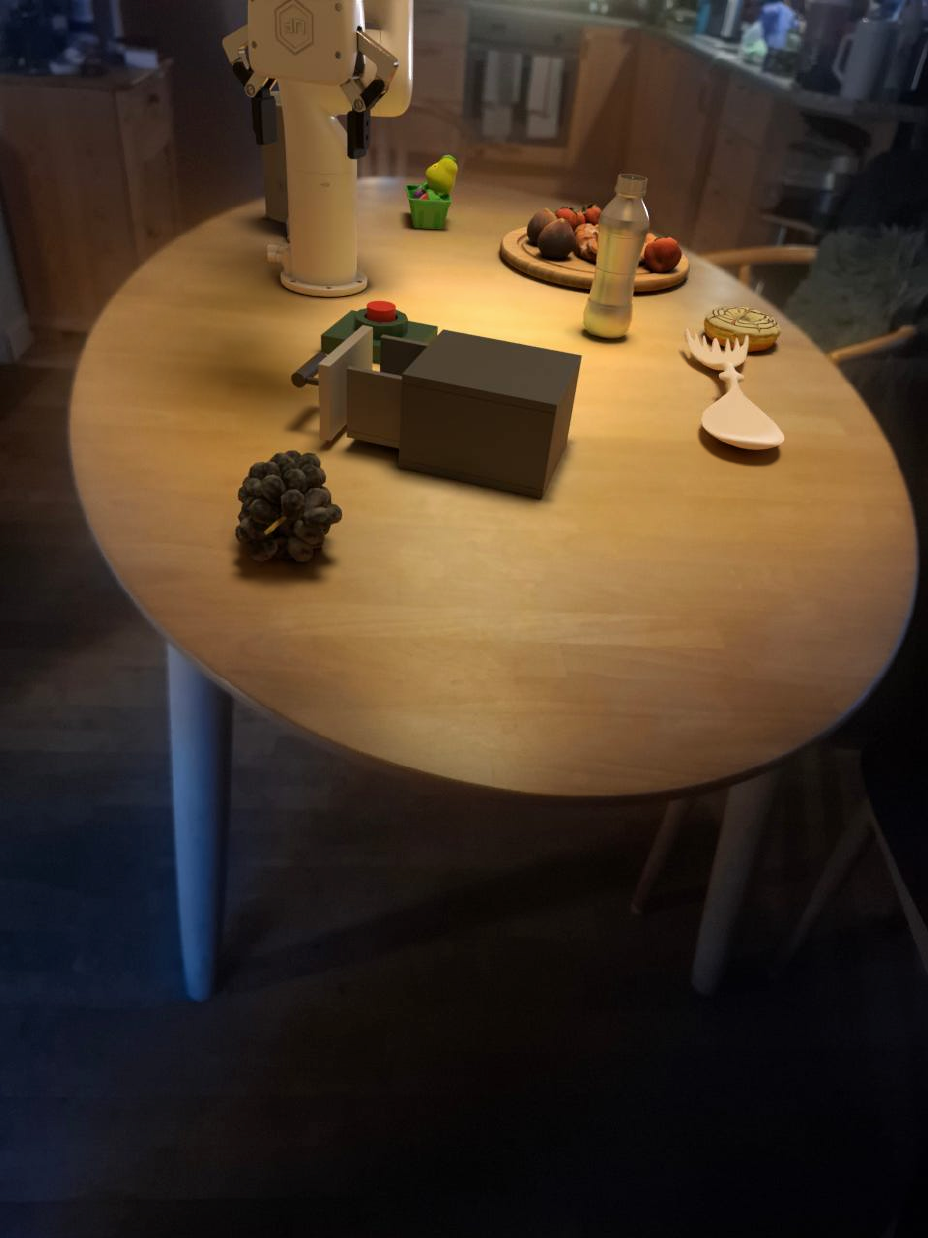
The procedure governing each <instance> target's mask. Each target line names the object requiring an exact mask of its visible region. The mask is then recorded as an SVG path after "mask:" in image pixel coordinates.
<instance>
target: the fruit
mask: <svg viewBox="0 0 928 1238" xmlns="http://www.w3.org/2000/svg"><path fill="white" fill-rule="evenodd" d="M321 463H322V462H321V460H320V457H319V456H318V455H317V454H316V453H313V452H305V453H303V454H301V453H300V452H298V451H297V450H295V449H293V450H292V449H290V450H287V451H286V452H277V453H275V454H274V455H273V456H272V457H271V458H270V459H269V460H268V461H266V462H264V461H259V462H255V463H254V464H253V465H251V466H250V467H249V470H248V473H247V476H246V477H245V478H244V479H243V480H242V484H241V485H242V486H240V487H239V488H238V491H237V499H238V501H239V502H241V504H242V505H241V509H240V511H239V513H238V515H237V518H238V522H239V524H238V525H236V527H235V534H234V536H235V538H236V540H237V542H238V543H240V544H242V545H244V546H247V545H248V549H247V550H248V554H249V556H250V557H251V558H252V559H253V560H254V561H258V562H264V561H266V560H269V559H271V558H272V557H273V556H274V557H276V558H278V559H281V560H283V561H286V560H288V559H290V558H293V560H295V561H296V562H301V563H303V562H308V561H309V560H311V558H312V557H314V556H313V555H314V549H319V548H321V547H322V546H324V542H325V539H326V535H328V534H329V532H330V530H331V527H332V525H335V524H338V523H340V522H341V521H342V518H343V510H342V508H341V507H340V506H339V505H338V504H336V503H333V502H332V493H331V492H330V490H329V488H328V487H327V486H324V484H325V483H326V482H327V474H326V472H325V470H324V469H323V468H322V467H321V465H322V464H321Z"/></svg>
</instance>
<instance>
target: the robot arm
mask: <svg viewBox="0 0 928 1238" xmlns="http://www.w3.org/2000/svg"><path fill="white" fill-rule="evenodd" d="M366 23H368V24H369V23H370V24H372V26H374V27H375V29H371V28H366ZM221 42H222V43H221V45H222V47H223V49H224V51H225V54H226V56H227V58H228V62H229V63H230V64H231V66H232V67H231V69H232V72H233V74H234V76H235V77H236V78H237V80H238V81H239V82H240V83H241V85H242V86H243V87H244V92H245V94H246V96H247V97H249V98H250V101H251V102H250V103H251V119H252V130H253V133H254V134H255V143H256V145H257V146H261V147H262V146H264V145H268V144H271V143H275V142H276V141H277V118H276V100H275V98H274V96H271V95H270V91H272V89H273V88H274V86H275V85H276V83H277V86H278V91H279V92H280V98H281V104H282V111H283V118H284V129H285V143H286V163H287V187H288V210H289V234H290V242H289V245H287V247H286V246H282V245H279V244H274V243H269V244H268V245H267V247H266V258H267V261H268V262H270V263H276V264H277V263H278V264H281V265H282V266H283V270H281V272H280V283H281V285H282V286H284V287H285V288H286V289H288V290H290V291H292V292H295V293H298V294H302V295H307V296H313V297H325V298H326V297H330V298H331V297H334V298H335V297H345V296H351V295H355V294H358V293H360V292H362V291H363V290H365V289H366V288H367V286H368V276H367V274H366V273H365V272H364V271H362V270H361V269H358V159H361V158H364V157H366V156H367V152H368V151H367V150H369V149H370V146H371V117H379V118H380V117H381V118H395V117H396V118H397V117H399V116H402V115H403V114H404V113H405V112H406V111H407V110H408V108H409V107H410V104H411V100H412V95H413V85H414V0H247V24H245V25H243V26H241V27H240V28H238V29H237V30H235V31H233V32H231V33H230V34H228V35H226V36H225V37H224V38H223V39H222V41H221ZM246 47H247V49H248V50H247V51H248V59H247V55H246V52H245V49H246ZM248 60H249V61H248ZM340 115H342V116H346V129H345V128H344V126H343V125H342V123H340V121H339V119H338V118H337V117H338V116H340Z"/></svg>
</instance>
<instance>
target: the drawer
mask: <svg viewBox="0 0 928 1238" xmlns="http://www.w3.org/2000/svg"><path fill="white" fill-rule="evenodd" d="M429 344H430V343H425V342H419V341H414V340H409V339H404V338H399V337H393V336H388V335H382V336H381V340H380V364H379V370H373V362H372V359H373V327H369V326H364V325H362V326H361V327H360V328H359V329H358V330H357V331H356V332H354V333H353V334H352V335H351V336H350V337H349V338H348V339H346V340H345V341H344V342H343V343H342V344H341V345H339V346H338V347H337V348H336V349H335V350H334V351H333V352H331V353H330V354H328V355H327V353H323V352H321V351H319V352H317V353H316V354H314V356H312V357H311V358H310V359H308V360H307V361H305V363H304V364H302V366H300V367H298V369H297V370H295V371H294V372H293V373H292V374H291V376H290V381H291V384H292V385H293V386H294V387H296V388H298V389H301V388H304V387H305V386H306V385H310V386H314V387H318V412H319V439H320V440H325V441H332V440H333V439H334V438H335V437H336V436H337V435H338V434H339V433H340V431H342V429H343V428H344V427H345V426H346V438H349V439H353V440H356V441H357V440H358V441H362V442H366V443H372V444H376V445H381V446H386V447H389V448H390V447H391V448H395V449H399V441H400V415H401V389H402V374H403V372H404V371H405V370H406V369H407V368H408V367H409V366H410V365H411V364H412V363H413V362H414V360H415V359H416V358H417V357H418V356H419V355H420V354H421V353H422V352H423V351H424V350H425V348H426V347H427V346H428V345H429ZM316 376H318V377H316Z"/></svg>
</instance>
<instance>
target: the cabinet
mask: <svg viewBox="0 0 928 1238" xmlns="http://www.w3.org/2000/svg"><path fill="white" fill-rule="evenodd" d="M582 357H583V355H582V354H577V353H572V352H566V351H562V350H561V351H560V350H556V349H549V348H545V347H539V346H534V345H528V344H524V343H519V342H513V341H507V340H502V339H497V338H492V337H486V336H481V335H476V334H470V333H465V332H459V331H454V330H449V329H441V330H440V332H439V333H438V334H437V337H436V338H435V339H434V340H433V341H432V342H431V343H430V344H429V345H428V346H427V347H426V348H425V350H424V351H423V352H422V353H421V354H420V355H419V356H418V357H417V358H416V359H415V360H414V362H413V363H412V364H411V365H410V366H409V367H408V368H407V369H406V370H405V371H404V372H403V374H402V389H401V415H400V441H399V448H398V465H397V466H398V468H400V469H404V470H409V471H414V472H419V473H423V474H427V475H432V476H435V477H436V476H437V477H442V478H445V479H451V480H455V481H458V482H464V483H469V484H473V485H477V486H483V487H486V488H492V489H496V490H500V491H504V492H505V491H506V492H510V493H515V494H519V495H522V496H527V497H531V498H537V499H541V500H542V499H543V498H544V495H545V493H546V491H547V488H548V487H549V484H550V482H551V480H552V478H553V475H554V473H555V472H556V471H555V470H556V468H557V466H558V464H559V461H560V460H561V458H562V455H563V453H564V451H565V449H566V446H567V443H568V439H569V433H570V428H571V422H572V416H573V411H574V403H575V398H576V393H577V386H578V381H579V374H580V369H581V364H582Z"/></svg>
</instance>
